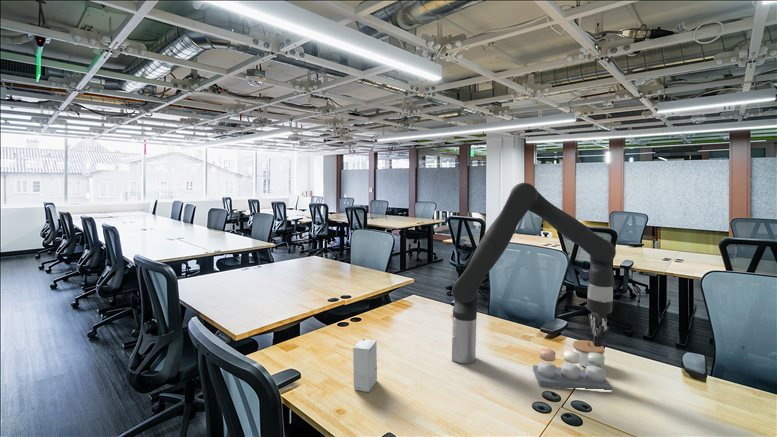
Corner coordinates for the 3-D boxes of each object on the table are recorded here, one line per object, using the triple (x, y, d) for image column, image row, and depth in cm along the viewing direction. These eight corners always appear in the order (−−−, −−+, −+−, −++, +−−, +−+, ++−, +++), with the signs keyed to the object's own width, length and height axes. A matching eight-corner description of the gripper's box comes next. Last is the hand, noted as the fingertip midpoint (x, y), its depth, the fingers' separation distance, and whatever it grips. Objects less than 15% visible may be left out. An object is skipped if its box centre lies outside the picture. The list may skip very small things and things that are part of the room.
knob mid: (565, 362, 127) (566, 356, 127) (561, 356, 132) (562, 349, 132) (581, 364, 126) (581, 357, 126) (576, 357, 131) (577, 351, 131)
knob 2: (590, 365, 125) (591, 358, 125) (585, 358, 130) (586, 351, 130) (606, 366, 125) (607, 359, 124) (600, 359, 129) (601, 353, 129)
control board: (539, 386, 126) (540, 372, 126) (532, 370, 137) (533, 357, 137) (612, 393, 122) (613, 379, 122) (599, 376, 133) (600, 363, 132)
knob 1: (541, 360, 128) (542, 354, 128) (538, 354, 133) (538, 348, 133) (556, 362, 127) (557, 355, 127) (553, 355, 132) (553, 349, 132)
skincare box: (369, 393, 122) (369, 350, 120) (352, 389, 123) (352, 347, 122) (377, 380, 130) (377, 339, 128) (361, 377, 131) (361, 337, 130)
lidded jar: (568, 357, 148) (569, 334, 147) (597, 359, 146) (598, 337, 145) (576, 370, 137) (577, 346, 136) (607, 373, 135) (609, 349, 134)
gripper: (581, 291, 132) (579, 337, 134) (595, 302, 119) (592, 353, 121) (604, 292, 131) (601, 338, 133) (620, 304, 118) (617, 355, 120)
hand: (597, 345), depth 127 cm, fingers closed
